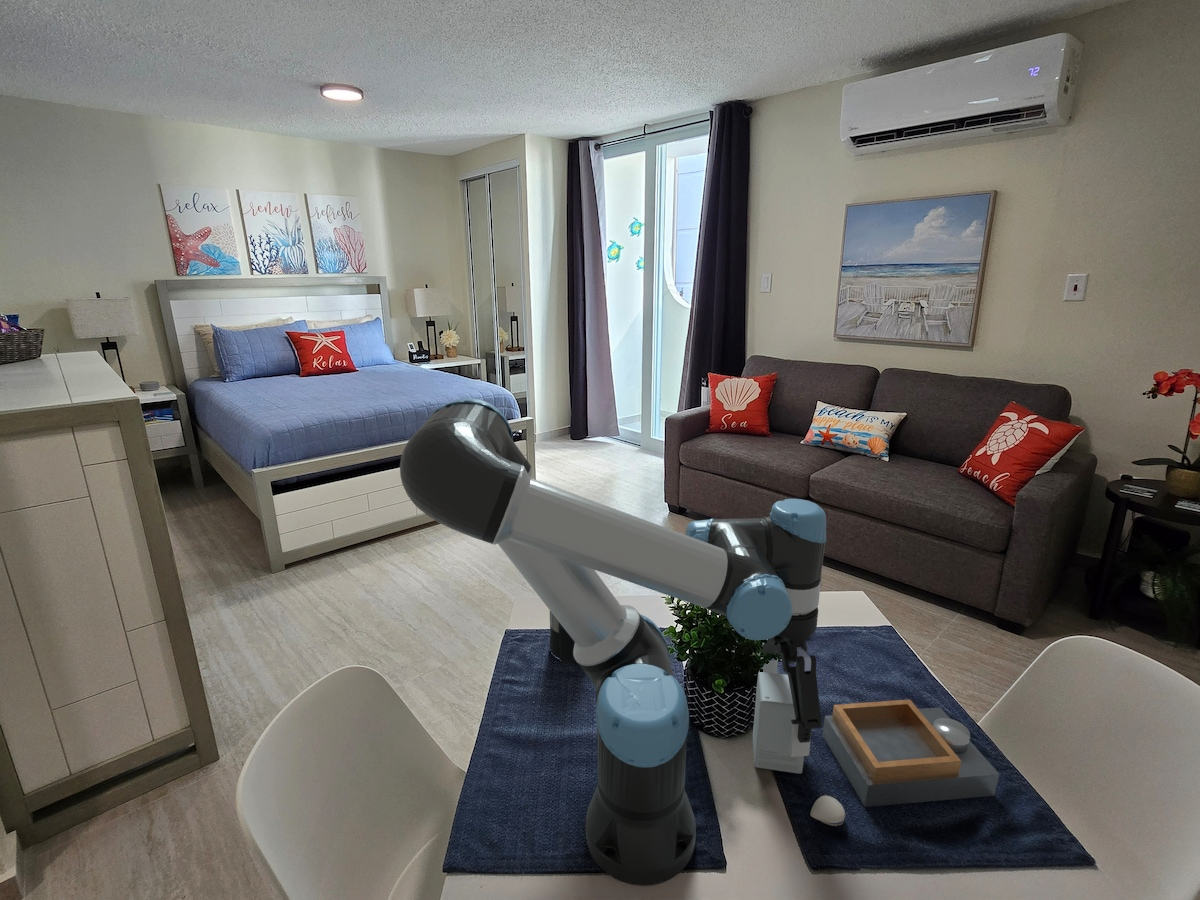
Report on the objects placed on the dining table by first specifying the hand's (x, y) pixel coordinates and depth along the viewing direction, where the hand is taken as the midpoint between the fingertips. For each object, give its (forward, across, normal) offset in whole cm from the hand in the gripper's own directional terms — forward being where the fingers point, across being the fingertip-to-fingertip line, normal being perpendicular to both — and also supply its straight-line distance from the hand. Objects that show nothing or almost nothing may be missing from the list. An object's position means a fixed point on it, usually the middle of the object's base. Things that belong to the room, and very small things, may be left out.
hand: (781, 721), depth 97 cm
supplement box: (+7, 0, 0) cm, 7 cm away
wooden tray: (+7, -4, -19) cm, 20 cm away
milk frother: (+6, +29, +28) cm, 41 cm away
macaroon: (+7, -12, -2) cm, 14 cm away
